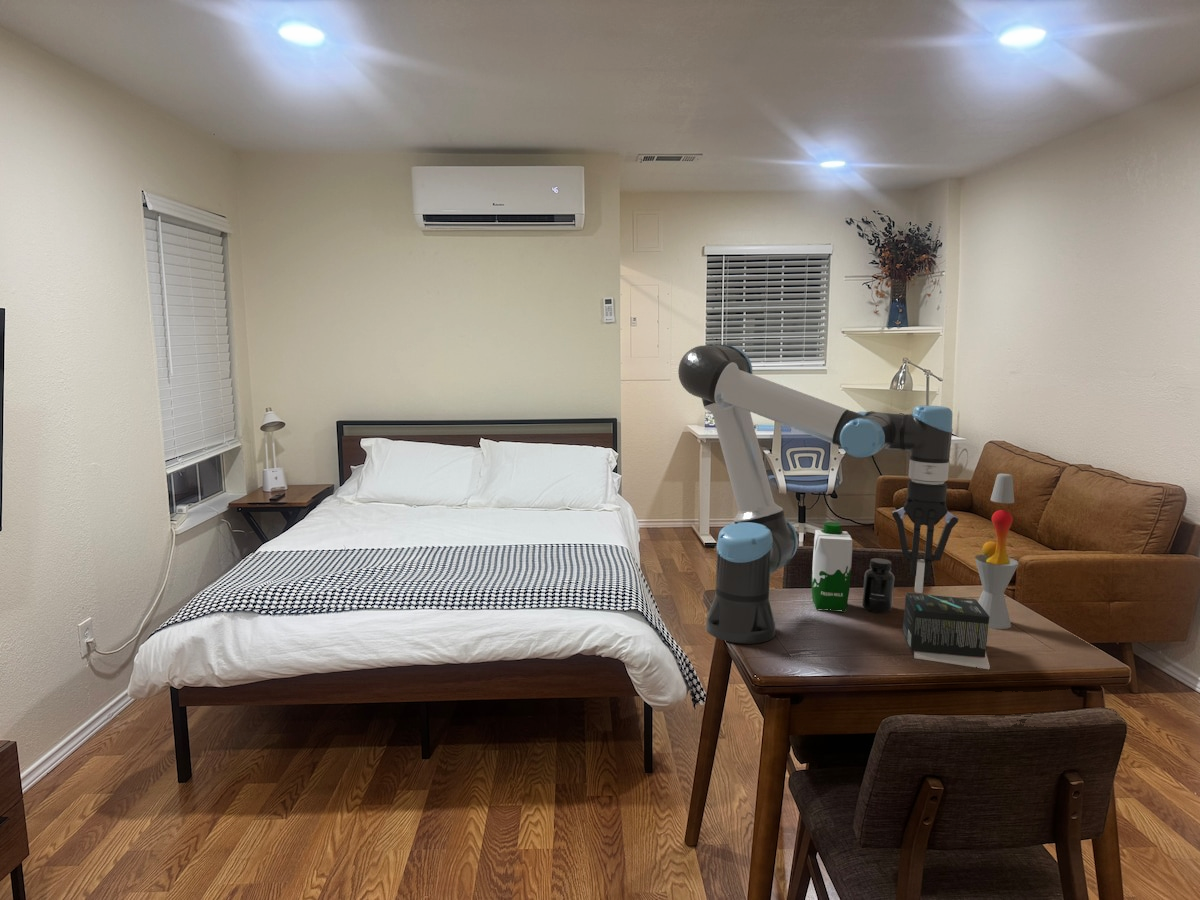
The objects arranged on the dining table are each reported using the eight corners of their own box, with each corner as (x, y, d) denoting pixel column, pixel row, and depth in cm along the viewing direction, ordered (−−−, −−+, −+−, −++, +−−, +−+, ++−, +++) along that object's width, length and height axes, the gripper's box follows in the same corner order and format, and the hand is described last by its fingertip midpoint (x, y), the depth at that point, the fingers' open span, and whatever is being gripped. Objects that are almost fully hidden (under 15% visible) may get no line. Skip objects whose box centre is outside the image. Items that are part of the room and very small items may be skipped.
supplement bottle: (872, 614, 187) (876, 565, 185) (856, 604, 194) (859, 557, 192) (897, 612, 189) (901, 563, 187) (880, 602, 196) (884, 556, 194)
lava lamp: (1019, 623, 183) (1034, 475, 178) (1001, 632, 177) (1017, 479, 172) (980, 612, 190) (993, 469, 185) (962, 620, 184) (975, 473, 179)
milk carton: (844, 601, 196) (849, 522, 193) (850, 613, 187) (856, 531, 184) (808, 598, 197) (812, 521, 194) (813, 611, 189) (818, 530, 186)
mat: (914, 658, 162) (914, 655, 162) (913, 635, 174) (913, 633, 174) (989, 669, 157) (989, 666, 157) (983, 645, 169) (983, 643, 169)
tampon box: (910, 651, 164) (985, 659, 161) (914, 608, 163) (990, 616, 160) (901, 631, 175) (972, 639, 172) (905, 591, 173) (977, 598, 170)
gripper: (893, 481, 162) (885, 592, 165) (963, 486, 157) (953, 600, 161) (894, 475, 169) (885, 581, 172) (960, 480, 164) (951, 589, 168)
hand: (918, 590), depth 166 cm, fingers closed
